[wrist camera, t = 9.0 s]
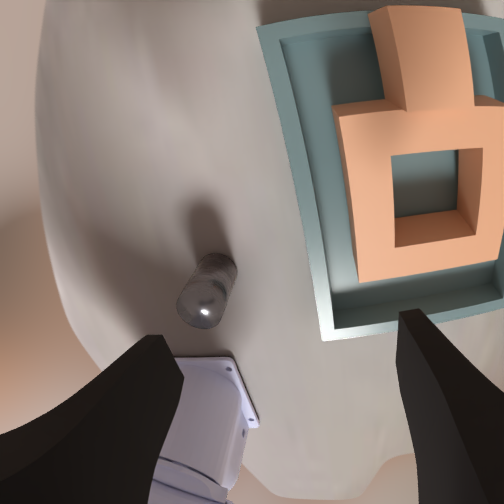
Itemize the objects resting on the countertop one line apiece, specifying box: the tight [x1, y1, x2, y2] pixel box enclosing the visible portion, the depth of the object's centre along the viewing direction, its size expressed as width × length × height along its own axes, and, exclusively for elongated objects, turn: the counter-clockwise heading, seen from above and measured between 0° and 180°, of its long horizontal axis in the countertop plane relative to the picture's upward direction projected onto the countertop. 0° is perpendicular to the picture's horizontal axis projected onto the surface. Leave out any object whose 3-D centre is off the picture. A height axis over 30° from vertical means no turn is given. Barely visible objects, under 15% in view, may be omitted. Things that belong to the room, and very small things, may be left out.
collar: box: [331, 5, 504, 283], centre depth 11 cm, size 12×8×3 cm, turn 14°
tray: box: [256, 10, 504, 341], centre depth 14 cm, size 17×13×2 cm
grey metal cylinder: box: [177, 253, 237, 329], centre depth 18 cm, size 2×2×4 cm
